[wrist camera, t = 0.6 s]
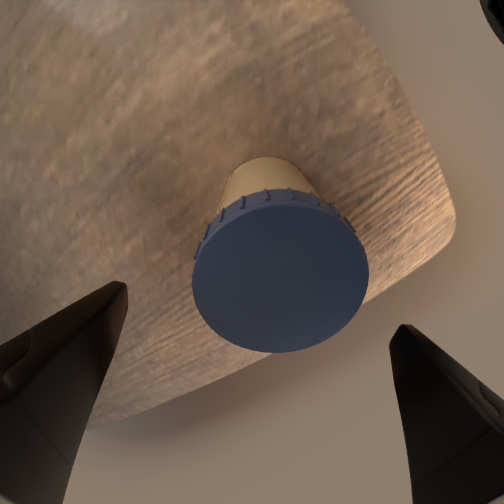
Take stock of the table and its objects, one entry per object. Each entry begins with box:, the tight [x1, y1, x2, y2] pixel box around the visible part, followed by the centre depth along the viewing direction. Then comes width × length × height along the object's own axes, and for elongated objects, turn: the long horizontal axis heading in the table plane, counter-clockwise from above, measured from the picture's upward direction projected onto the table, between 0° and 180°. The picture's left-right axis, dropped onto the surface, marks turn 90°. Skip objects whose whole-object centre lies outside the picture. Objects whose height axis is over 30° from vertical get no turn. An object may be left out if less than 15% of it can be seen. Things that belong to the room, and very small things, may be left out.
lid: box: [192, 187, 369, 353], centre depth 12 cm, size 7×7×2 cm
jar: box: [216, 157, 321, 216], centre depth 16 cm, size 6×6×10 cm
